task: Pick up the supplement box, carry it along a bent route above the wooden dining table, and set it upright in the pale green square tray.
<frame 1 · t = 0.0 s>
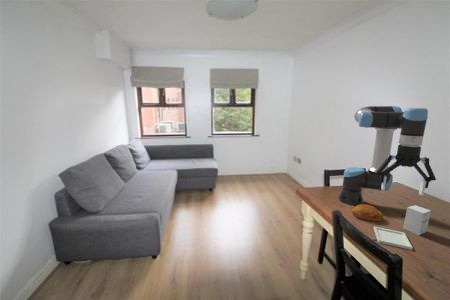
hand: (401, 192, 96), 28 cm above the table, fingers open, 13 cm apart
pale green square tray: (391, 238, 108), on the table
croissant: (366, 216, 130), on the table
supplement box: (414, 230, 115), on the table
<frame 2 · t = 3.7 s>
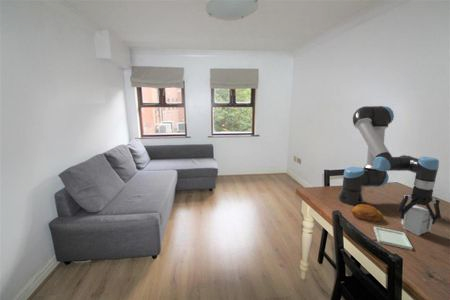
hand: (415, 226, 115), 2 cm above the table, fingers closed on supplement box, 10 cm apart
supplement box: (414, 230, 115), on the table, touching gripper
everything else where it was.
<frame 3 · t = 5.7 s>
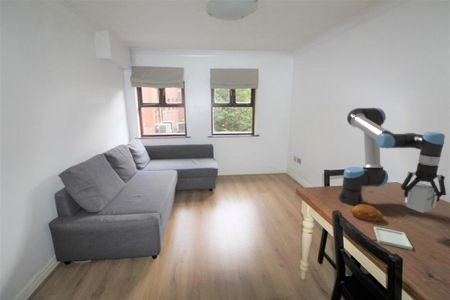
hand: (419, 204, 112), 15 cm above the table, fingers closed on supplement box, 10 cm apart
supplement box: (418, 208, 113), point 12 cm above the table, touching gripper
everything else where it was.
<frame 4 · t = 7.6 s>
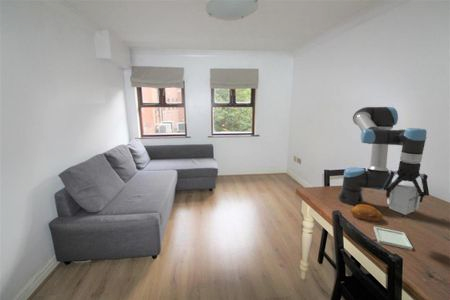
hand: (402, 205, 105), 18 cm above the table, fingers closed on supplement box, 10 cm apart
supplement box: (401, 210, 105), point 15 cm above the table, touching gripper
everything else where it was.
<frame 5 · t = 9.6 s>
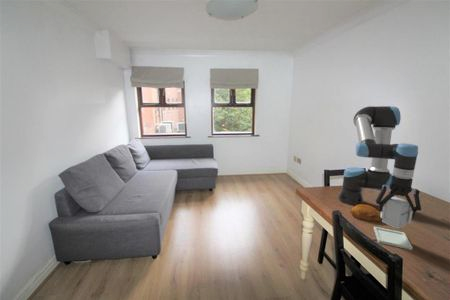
hand: (394, 219, 106), 11 cm above the table, fingers closed on supplement box, 10 cm apart
supplement box: (394, 224, 106), point 8 cm above the table, touching gripper
everything else where it was.
when the fingers open (4 cm above the table, at t = 11.4 s): supplement box stays where it is, resting on pale green square tray.
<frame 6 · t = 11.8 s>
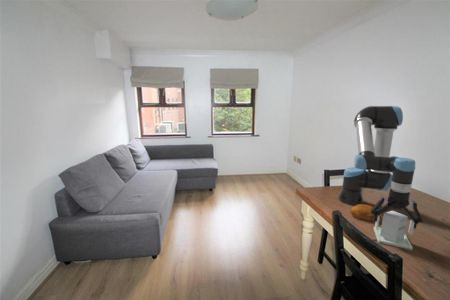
hand: (392, 230, 107), 5 cm above the table, fingers open, 13 cm apart
supplement box: (391, 237, 108), resting on pale green square tray
everything else where it was.
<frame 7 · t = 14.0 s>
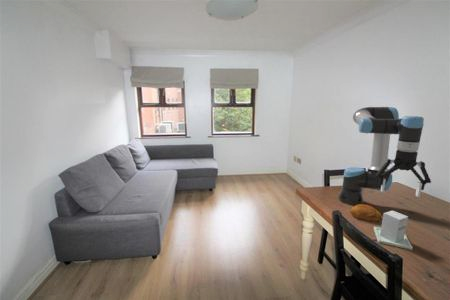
hand: (399, 193, 103), 24 cm above the table, fingers open, 13 cm apart
nothing on the table moved.
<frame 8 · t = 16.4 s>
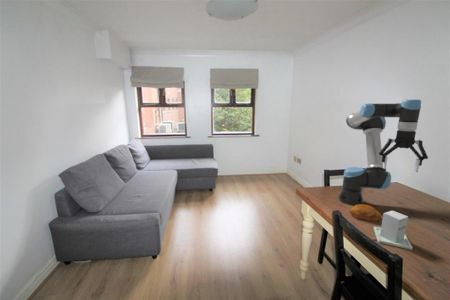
hand: (399, 169, 115), 32 cm above the table, fingers open, 13 cm apart
nothing on the table moved.
at the end: supplement box 0.1 cm off-centre on the pale green square tray, point 0.4 cm above the pale green square tray's base; supplement box tilted 0°; the gripper is holding nothing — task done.
